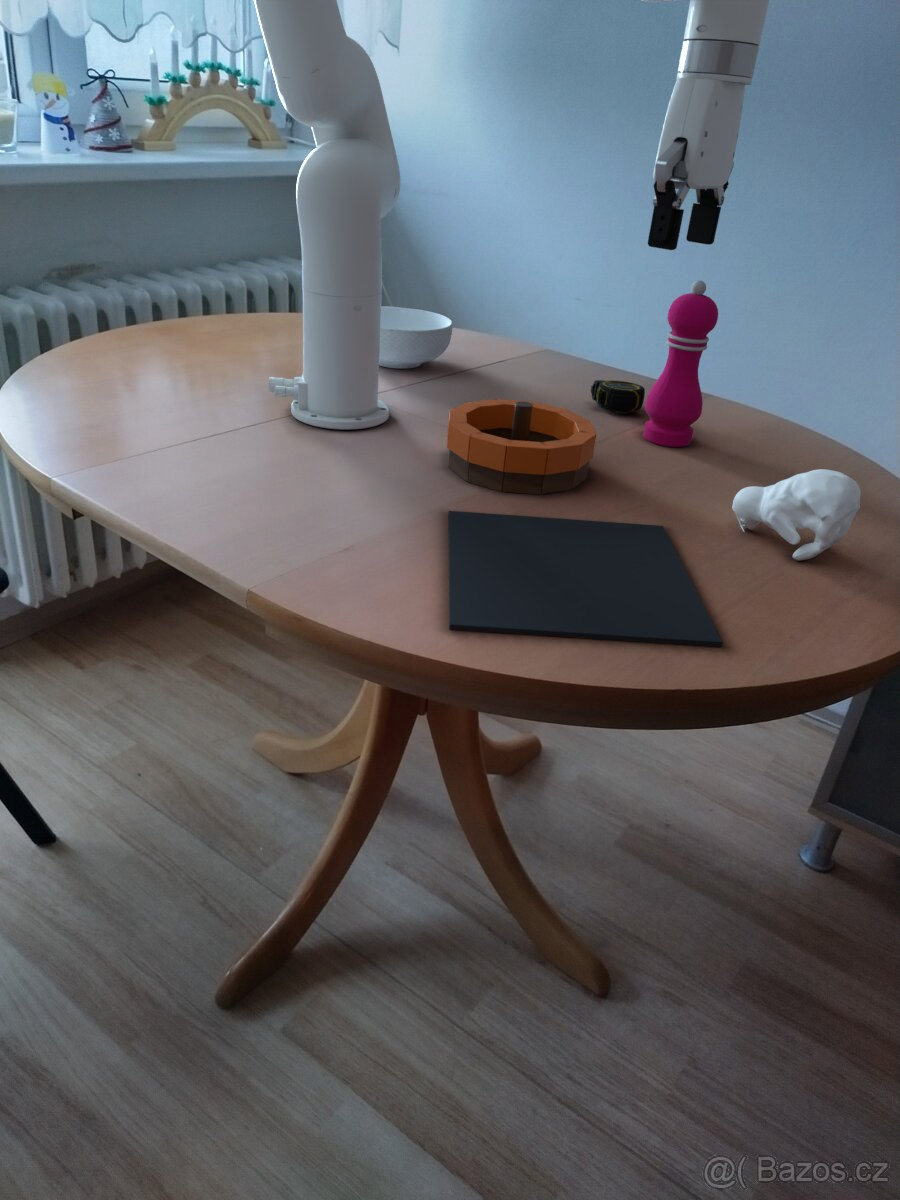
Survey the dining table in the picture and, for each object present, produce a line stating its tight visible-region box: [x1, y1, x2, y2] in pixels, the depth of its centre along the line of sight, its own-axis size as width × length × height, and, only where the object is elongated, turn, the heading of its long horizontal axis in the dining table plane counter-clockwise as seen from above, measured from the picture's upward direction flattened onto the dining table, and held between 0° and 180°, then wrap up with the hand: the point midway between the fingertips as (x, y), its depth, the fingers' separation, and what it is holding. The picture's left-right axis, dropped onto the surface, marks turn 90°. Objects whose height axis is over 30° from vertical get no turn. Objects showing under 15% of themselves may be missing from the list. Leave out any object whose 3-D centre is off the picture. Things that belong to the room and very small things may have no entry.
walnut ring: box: [447, 428, 590, 495], centre depth 100 cm, size 16×16×2 cm
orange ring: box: [446, 398, 597, 475], centre depth 99 cm, size 17×17×3 cm
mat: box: [447, 510, 724, 648], centre depth 78 cm, size 22×22×1 cm
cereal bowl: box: [379, 305, 454, 370], centre depth 135 cm, size 17×17×7 cm
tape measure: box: [590, 379, 646, 414], centre depth 122 cm, size 7×7×4 cm
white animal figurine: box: [731, 468, 862, 561], centre depth 86 cm, size 6×8×12 cm
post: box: [511, 400, 533, 441], centre depth 99 cm, size 8×8×8 cm
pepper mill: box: [642, 279, 719, 448], centre depth 109 cm, size 7×7×20 cm
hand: (681, 245), depth 96 cm, fingers open, 9 cm apart
